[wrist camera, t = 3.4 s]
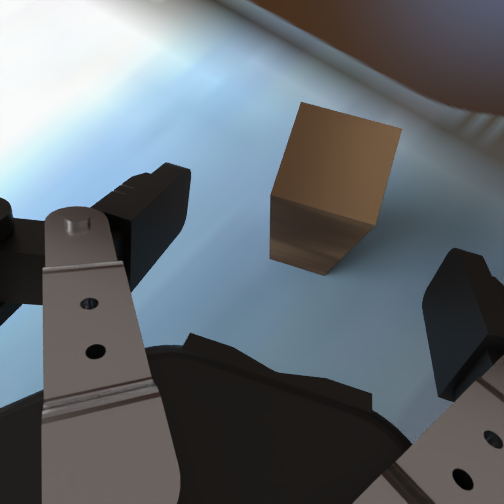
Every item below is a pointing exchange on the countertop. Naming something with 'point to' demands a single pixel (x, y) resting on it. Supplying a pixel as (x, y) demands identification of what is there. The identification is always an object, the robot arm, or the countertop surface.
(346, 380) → the countertop surface
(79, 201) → the countertop surface
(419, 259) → the countertop surface
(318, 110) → the tall brown block
